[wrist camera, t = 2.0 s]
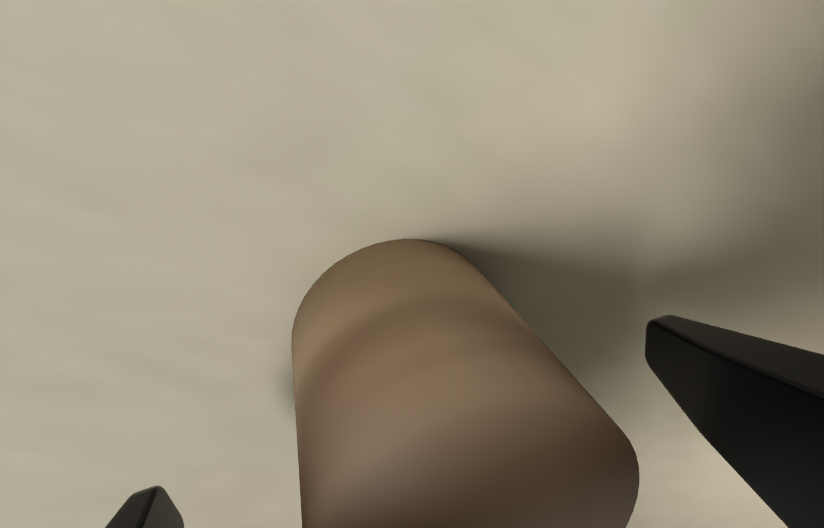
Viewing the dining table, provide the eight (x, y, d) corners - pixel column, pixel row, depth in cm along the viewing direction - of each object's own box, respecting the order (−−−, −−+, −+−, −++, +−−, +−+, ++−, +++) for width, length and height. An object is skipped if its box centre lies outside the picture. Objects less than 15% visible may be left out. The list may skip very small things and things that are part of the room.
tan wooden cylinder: (503, 381, 12) (634, 576, 8) (324, 442, 11) (356, 693, 7) (481, 213, 10) (646, 350, 6) (260, 275, 9) (250, 485, 5)
